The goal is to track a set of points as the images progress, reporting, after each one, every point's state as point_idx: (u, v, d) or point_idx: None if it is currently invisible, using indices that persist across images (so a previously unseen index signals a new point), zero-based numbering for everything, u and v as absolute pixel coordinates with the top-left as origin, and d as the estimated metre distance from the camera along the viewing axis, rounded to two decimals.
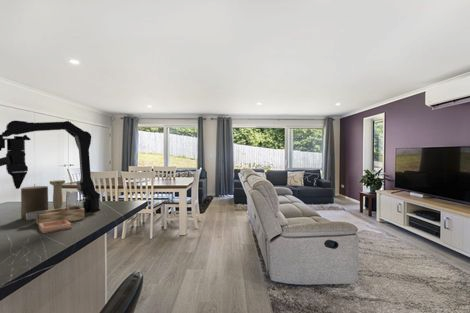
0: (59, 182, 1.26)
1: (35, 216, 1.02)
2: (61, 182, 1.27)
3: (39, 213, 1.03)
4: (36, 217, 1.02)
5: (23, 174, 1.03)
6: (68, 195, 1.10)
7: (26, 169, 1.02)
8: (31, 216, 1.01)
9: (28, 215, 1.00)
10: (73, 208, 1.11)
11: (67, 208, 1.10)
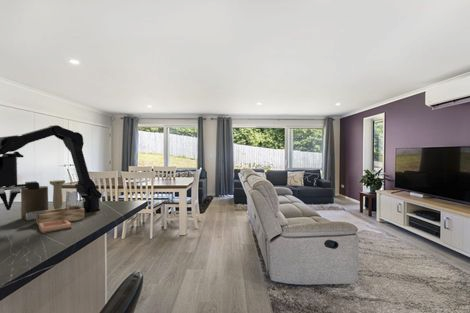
0: (59, 182, 1.26)
1: (35, 216, 1.02)
2: (61, 182, 1.27)
3: (39, 213, 1.03)
4: (36, 217, 1.02)
5: None
6: (68, 195, 1.10)
7: None
8: (31, 216, 1.01)
9: (28, 215, 1.00)
10: (73, 208, 1.11)
11: (67, 208, 1.10)
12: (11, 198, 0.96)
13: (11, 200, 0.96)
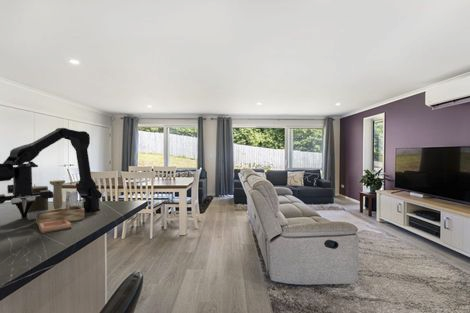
0: (59, 182, 1.26)
1: (37, 216, 1.02)
2: (61, 182, 1.27)
3: (40, 213, 1.03)
4: (37, 217, 1.02)
5: None
6: (68, 195, 1.10)
7: None
8: (32, 216, 1.01)
9: (29, 215, 1.01)
10: (73, 208, 1.11)
11: (67, 208, 1.10)
12: (27, 207, 0.99)
13: (27, 209, 1.00)
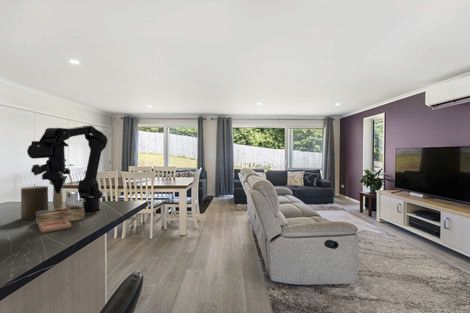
0: None
1: None
2: None
3: (49, 212, 1.05)
4: None
5: (61, 180, 1.07)
6: (68, 195, 1.10)
7: (59, 177, 1.01)
8: None
9: (38, 214, 1.03)
10: (73, 208, 1.11)
11: (67, 208, 1.10)
12: (64, 182, 1.10)
13: (63, 183, 1.10)
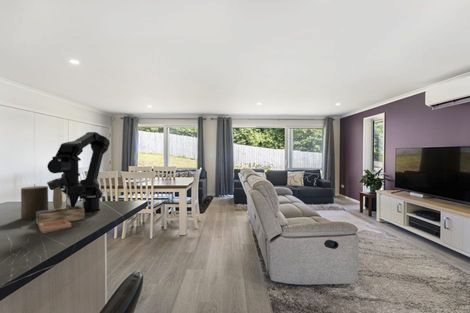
0: None
1: None
2: None
3: (49, 212, 1.05)
4: None
5: (78, 193, 1.10)
6: None
7: (83, 189, 1.07)
8: None
9: (38, 214, 1.03)
10: (73, 208, 1.11)
11: (67, 208, 1.10)
12: None
13: None
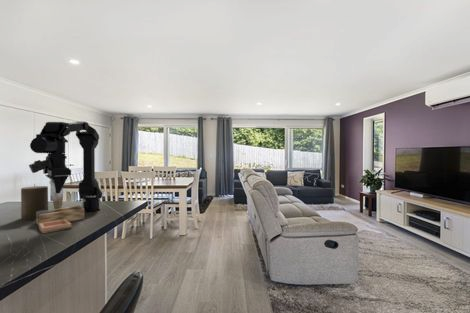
0: None
1: None
2: None
3: (49, 212, 1.05)
4: None
5: (64, 178, 0.99)
6: None
7: (70, 173, 0.96)
8: None
9: (38, 214, 1.03)
10: (58, 194, 0.99)
11: (51, 194, 0.98)
12: None
13: None
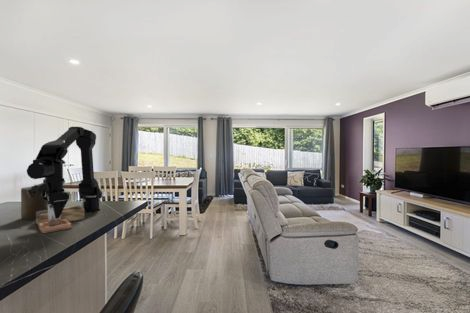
0: None
1: None
2: None
3: None
4: None
5: (64, 202, 0.95)
6: (50, 206, 0.96)
7: (68, 197, 0.94)
8: None
9: (38, 214, 1.03)
10: (56, 221, 0.97)
11: (49, 221, 0.97)
12: None
13: None
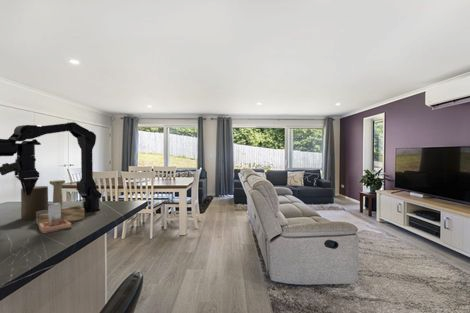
0: (59, 182, 1.26)
1: None
2: (61, 182, 1.27)
3: None
4: None
5: (34, 180, 1.00)
6: (51, 206, 0.97)
7: (38, 175, 0.99)
8: None
9: (38, 214, 1.03)
10: (56, 221, 0.98)
11: (49, 221, 0.97)
12: None
13: None
